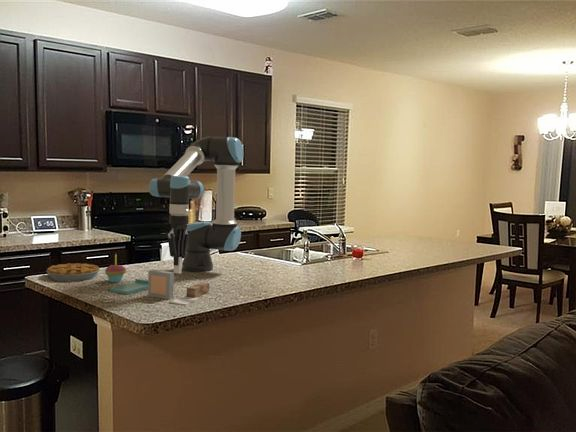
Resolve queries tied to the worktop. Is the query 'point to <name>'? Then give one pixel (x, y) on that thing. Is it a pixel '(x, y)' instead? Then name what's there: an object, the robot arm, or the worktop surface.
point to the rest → (131, 287)
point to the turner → (192, 294)
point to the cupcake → (115, 272)
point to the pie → (72, 272)
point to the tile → (160, 284)
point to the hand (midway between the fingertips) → (177, 272)
